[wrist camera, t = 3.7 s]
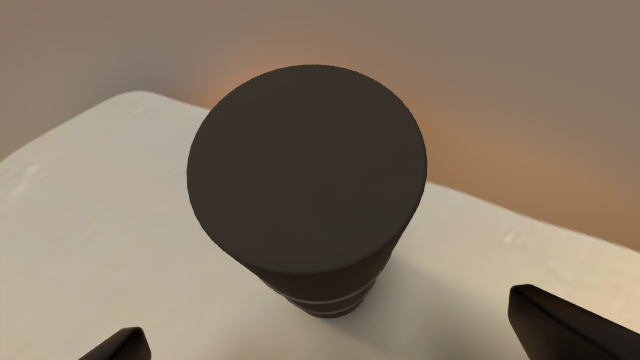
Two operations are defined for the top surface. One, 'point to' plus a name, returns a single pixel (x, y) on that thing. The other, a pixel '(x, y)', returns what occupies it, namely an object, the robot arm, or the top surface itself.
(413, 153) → the black cylinder
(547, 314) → the robot arm
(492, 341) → the top surface
